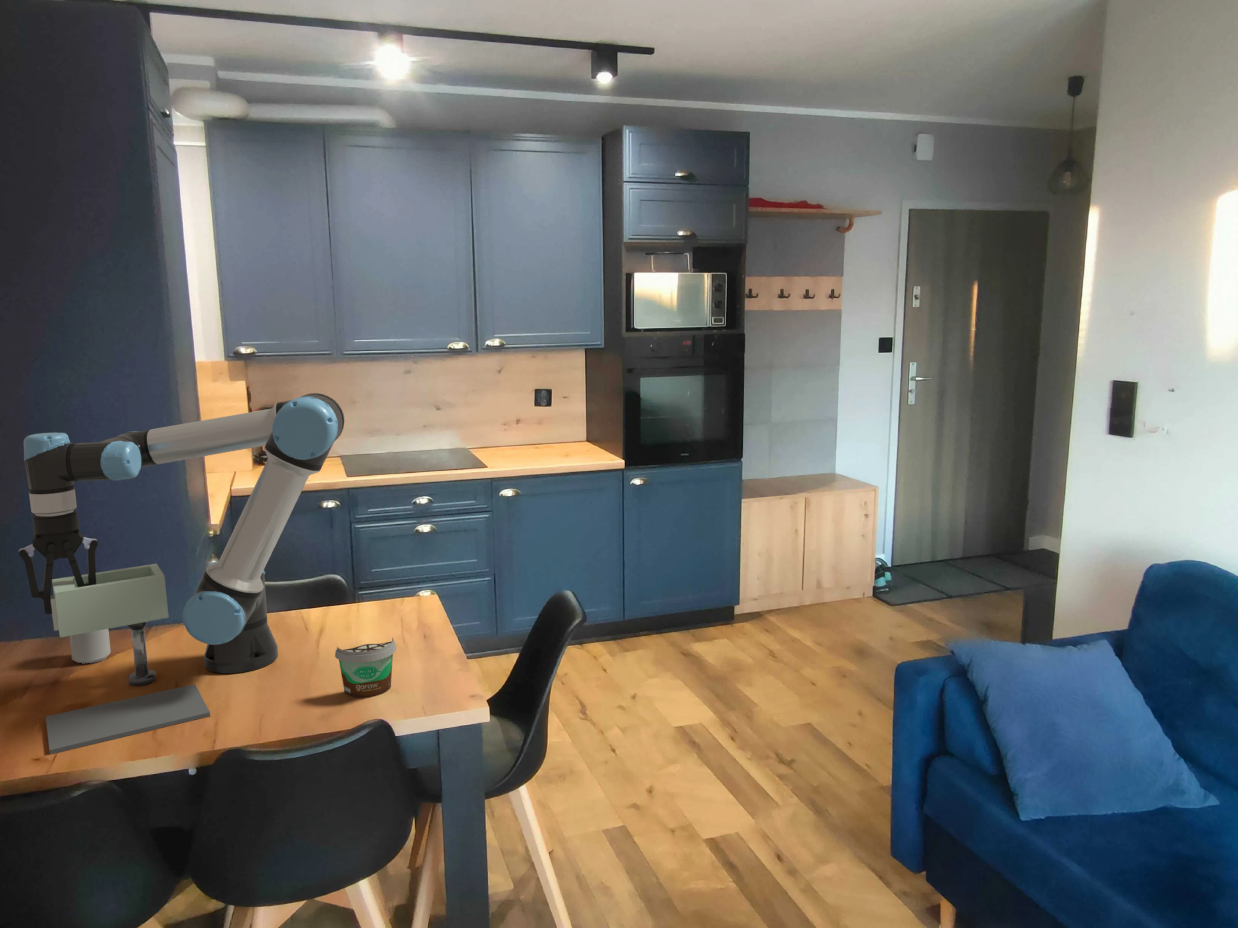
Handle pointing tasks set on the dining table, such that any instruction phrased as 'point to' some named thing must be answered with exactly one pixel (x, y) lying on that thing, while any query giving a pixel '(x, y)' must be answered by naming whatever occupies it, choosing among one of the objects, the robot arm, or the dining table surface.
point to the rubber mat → (124, 718)
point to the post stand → (140, 657)
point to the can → (90, 646)
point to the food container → (366, 669)
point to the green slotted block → (110, 600)
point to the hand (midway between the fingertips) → (68, 625)
